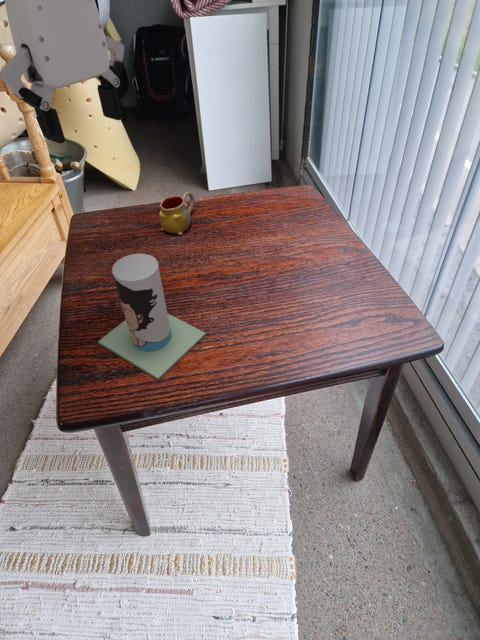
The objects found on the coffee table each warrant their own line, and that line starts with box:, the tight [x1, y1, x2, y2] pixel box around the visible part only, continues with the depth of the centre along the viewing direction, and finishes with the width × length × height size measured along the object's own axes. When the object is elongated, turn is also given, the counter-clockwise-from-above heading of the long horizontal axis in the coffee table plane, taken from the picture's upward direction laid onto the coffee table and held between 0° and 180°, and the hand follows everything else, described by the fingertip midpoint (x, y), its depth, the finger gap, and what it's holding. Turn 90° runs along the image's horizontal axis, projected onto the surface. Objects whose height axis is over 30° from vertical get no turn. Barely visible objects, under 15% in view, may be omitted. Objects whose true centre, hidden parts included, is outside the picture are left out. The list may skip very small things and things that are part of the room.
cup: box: [111, 253, 172, 352], centre depth 67 cm, size 7×7×15 cm
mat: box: [97, 312, 207, 381], centre depth 72 cm, size 12×14×1 cm
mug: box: [159, 191, 195, 236], centre depth 98 cm, size 12×7×7 cm, turn 152°
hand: (86, 128), depth 56 cm, fingers open, 9 cm apart
